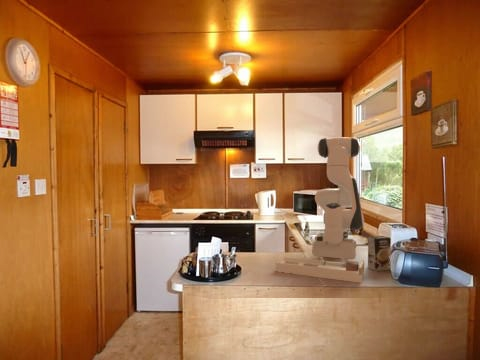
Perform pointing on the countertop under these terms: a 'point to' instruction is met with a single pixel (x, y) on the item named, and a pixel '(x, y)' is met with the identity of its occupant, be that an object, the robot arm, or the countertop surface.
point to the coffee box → (379, 252)
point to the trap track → (319, 269)
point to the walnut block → (352, 266)
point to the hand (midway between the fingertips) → (333, 266)
